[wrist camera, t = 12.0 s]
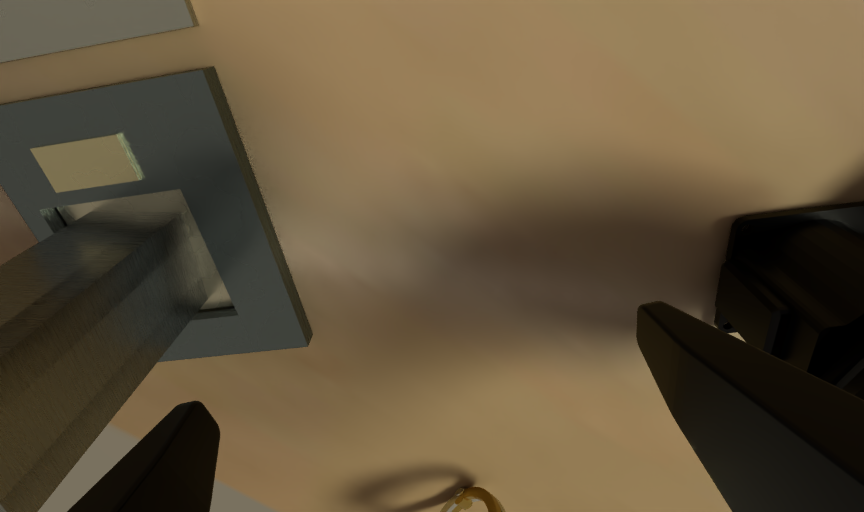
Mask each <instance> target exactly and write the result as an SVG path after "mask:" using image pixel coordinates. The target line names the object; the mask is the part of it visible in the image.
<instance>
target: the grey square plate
mask: <svg viewBox="0 0 864 512" xmlns="http://www.w3.org/2000/svg"><path fill="white" fill-rule="evenodd" d="M193 26H199V24H198V21H197V19H196V16H195V13H194V11H193V8H192V5H191V2H190V0H0V63H3V62H8V61H13V60H19V59H24V58H29V57H34V56H40V55H45V54H50V53H56V52H61V51H66V50H72V49H77V48H82V47H87V46H93V45H98V44H103V43H109V42H114V41H119V40H124V39H130V38H135V37H140V36H146V35H151V34H156V33H162V32H167V31H172V30H177V29H183V28H188V27H193Z"/></svg>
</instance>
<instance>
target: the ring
mask: <svg viewBox="0 0 864 512" xmlns="http://www.w3.org/2000/svg"><path fill="white" fill-rule="evenodd" d="M475 501H484V503H485V504H486V506H487V509H488V512H505V509H504V507H503V506H502V504H501V503H500V501H499V500H498V499H497V498H496V497H494V496H493V495H492V494H491V493H489V492H488V491H486V490H485V489H483V488H480V487H470V488H467V489H464V488H459V489H458V490H457V491H456V492H455V495H454V496H453V497H452V498H451V499H450V500H449V501H448V502H447V503H446V504H445V505H444V507H443V508H442V509H441V511H440V512H459V511H460V510H461V509H462V508H463V509H464V510H466V509H468V508H470V507H471V506H472V502H475Z"/></svg>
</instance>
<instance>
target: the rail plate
mask: <svg viewBox="0 0 864 512" xmlns="http://www.w3.org/2000/svg"><path fill="white" fill-rule="evenodd" d="M0 184H1V186H2V187H3V189H4V190H5V192H6V193H7V195H8V196H9V198H10V199H11V201H12V202H13V204H14V205H15V207H16V208H17V210H18V211H19V213H20V214H21V216H22V217H23V219H24V220H25V222H26V223H27V225H28V226H29V228H30V229H31V231H32V232H33V234H34V235H35V237H36V238H37V240H38V242H41V241H42V240H44V239H46V238H47V237H49V236H51V235H52V234H54V233H56V232H57V231H59V230H61V229H63V228H64V227H66V226H68V225H69V224H71V223H73V222H74V221H76V220H78V219H79V218H81V217H83V216H84V215H86V214H88V213H89V212H91V211H95V212H181V213H182V216H183V219H184V222H185V226H186V229H187V232H188V235H189V239H190V242H191V245H192V248H193V252H194V255H195V258H196V261H197V265H198V268H199V271H200V275H201V278H202V281H203V284H204V288H205V291H206V294H207V297H208V300H207V301H206V302H205V303H204V305H203V306H202V307H201V308H200V310H199V311H198V312H197V313H196V315H195V316H194V317H193V318H192V320H191V321H190V322H189V323H188V325H187V326H186V327H185V328H184V330H183V331H182V332H181V333H180V334H179V336H178V337H177V338H176V339H175V341H174V342H173V343H172V344H171V346H170V347H169V348H168V349H167V351H166V352H165V353H164V354H163V356H162V357H161V358H160V359H159V361H158V362H163V361H172V360H182V359H192V358H202V357H211V356H221V355H231V354H240V353H250V352H260V351H270V350H279V349H289V348H299V347H308V345H309V343H310V340H311V338H312V335H313V334H312V331H311V328H310V325H309V323H308V320H307V317H306V315H305V312H304V309H303V306H302V304H301V301H300V298H299V296H298V293H297V290H296V287H295V285H294V282H293V279H292V277H291V274H290V271H289V268H288V266H287V263H286V260H285V258H284V255H283V252H282V249H281V247H280V244H279V241H278V239H277V236H276V233H275V230H274V228H273V225H272V222H271V220H270V217H269V214H268V211H267V209H266V206H265V203H264V201H263V198H262V195H261V192H260V190H259V187H258V184H257V182H256V179H255V176H254V173H253V171H252V168H251V165H250V163H249V160H248V157H247V154H246V152H245V149H244V146H243V144H242V141H241V138H240V135H239V133H238V130H237V127H236V125H235V122H234V119H233V116H232V114H231V111H230V108H229V106H228V103H227V100H226V97H225V95H224V92H223V89H222V87H221V84H220V81H219V78H218V76H217V73H216V70H215V68H214V66H213V67H208V68H202V69H196V70H191V71H185V72H180V73H174V74H168V75H163V76H157V77H151V78H146V79H140V80H135V81H129V82H123V83H118V84H112V85H106V86H101V87H95V88H89V89H84V90H78V91H73V92H67V93H61V94H56V95H50V96H44V97H39V98H33V99H28V100H22V101H16V102H11V103H5V104H0Z"/></svg>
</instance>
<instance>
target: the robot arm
mask: <svg viewBox="0 0 864 512" xmlns="http://www.w3.org/2000/svg"><path fill="white" fill-rule="evenodd" d="M746 225H749V226H748V228H747V229H745V230H743V231H742V229H743V227H745V226H746ZM715 306H716V307H717V309H716V315H715V320H714V325H715V326H716V327H717V328H715V327H713V326H711V325H709V324H707V323H705V322H703V321H701V320H699V319H697V318H695V317H693V316H691V315H689V314H687V313H685V312H683V311H681V310H679V309H677V308H675V307H673V306H671V305H668V304H666V303H664V302H662V301H655V302H650V303H646V304H642V305H640V306H639V307H638V311H637V330H636V337H637V342H638V345H639V348H640V350H641V352H642V354H643V356H644V358H645V360H646V362H647V365H648V367H649V369H650V371H651V373H652V375H653V377H654V379H655V381H656V383H657V385H658V387H659V389H660V392H661V394H662V396H663V398H664V400H665V402H666V404H667V406H668V408H669V410H670V412H671V414H672V416H673V417H674V419H675V421H676V422H677V424H678V426H679V427H680V429H681V431H682V432H683V434H684V435H685V437H686V439H687V440H688V442H689V443H690V445H691V447H692V448H693V450H694V451H695V453H696V455H697V456H698V458H699V459H700V461H701V463H702V464H703V466H704V467H705V469H706V471H707V472H708V474H709V475H710V477H711V478H712V480H713V482H714V483H715V485H716V486H717V488H718V490H719V491H720V493H721V494H722V496H723V498H724V499H725V501H726V502H727V504H728V506H729V507H730V509H731V510H732V512H864V201H863V202H855V203H847V204H839V205H830V206H822V207H814V208H806V209H798V210H789V211H781V212H773V213H765V214H757V215H749V216H743V217H740V218H738V219H737V220H735V222H734V223H733V224H732V227H731V232H730V237H729V243H728V248H727V254H726V259H725V261H724V263H723V264H722V267H721V273H720V279H719V284H718V290H717V295H716V301H715ZM726 322H728V323H727V324H725V323H726ZM734 332H738V333H739V334H740V336H741V337H742V338H743V339H744V340H745V341H746V342H744V341H742V340H740V339H738V338H736V337H734V336H732V335H730V334H728V333H734ZM219 441H220V430H219V426H218V424H217V423H216V421H215V420H214V418H213V417H212V416H211V414H210V413H209V411H208V410H207V409H206V407H205V406H204V405H203V403H201V402H199V401H192V402H187V403H183V404H180V405H177V406H176V407H175V408H174V409H173V410H172V411H171V412H170V413H169V414H168V415H166V416H165V417H164V418H163V419H162V420H161V421H160V422H159V423H158V424H157V425H156V426H155V427H154V428H153V429H152V430H151V431H150V432H149V433H148V434H147V435H146V436H145V437H144V438H143V439H142V440H141V441H140V442H139V443H138V444H137V445H135V447H133V448H132V449H131V450H130V451H129V452H128V453H127V454H126V455H125V456H124V457H123V458H122V459H121V460H120V461H119V462H118V463H117V464H116V465H115V466H114V467H113V468H112V469H111V470H110V471H109V472H108V473H107V474H105V475H104V476H103V477H102V478H101V479H100V480H99V481H98V482H97V483H96V484H95V485H94V486H93V487H92V488H91V489H90V490H89V491H88V492H87V493H86V494H85V495H84V496H83V497H82V498H81V499H80V500H79V501H78V502H77V503H76V504H75V505H73V506H72V507H71V508H70V509H69V510H68V511H67V512H209V511H210V505H211V499H212V492H213V485H214V478H215V470H216V463H217V456H218V448H219Z"/></svg>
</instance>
